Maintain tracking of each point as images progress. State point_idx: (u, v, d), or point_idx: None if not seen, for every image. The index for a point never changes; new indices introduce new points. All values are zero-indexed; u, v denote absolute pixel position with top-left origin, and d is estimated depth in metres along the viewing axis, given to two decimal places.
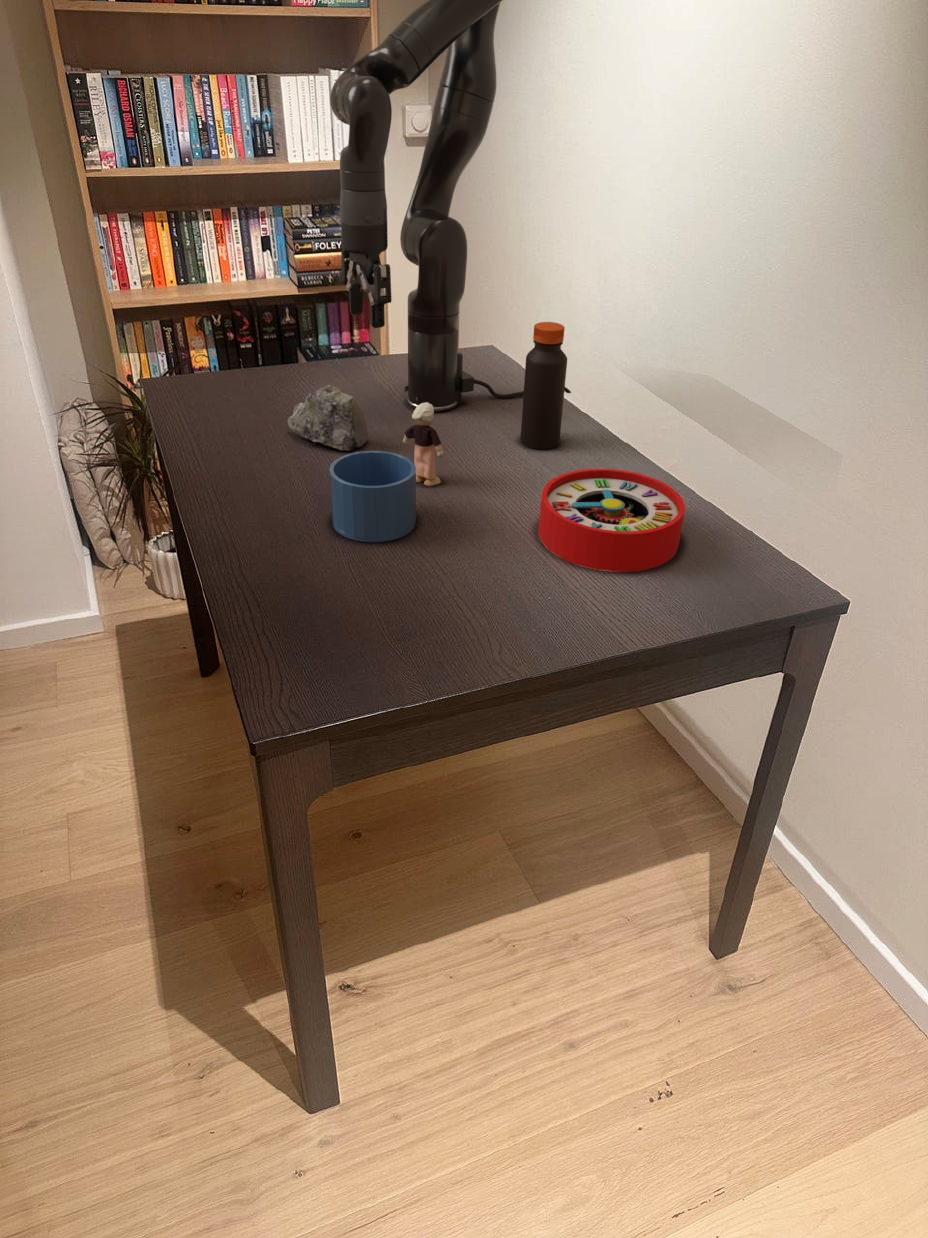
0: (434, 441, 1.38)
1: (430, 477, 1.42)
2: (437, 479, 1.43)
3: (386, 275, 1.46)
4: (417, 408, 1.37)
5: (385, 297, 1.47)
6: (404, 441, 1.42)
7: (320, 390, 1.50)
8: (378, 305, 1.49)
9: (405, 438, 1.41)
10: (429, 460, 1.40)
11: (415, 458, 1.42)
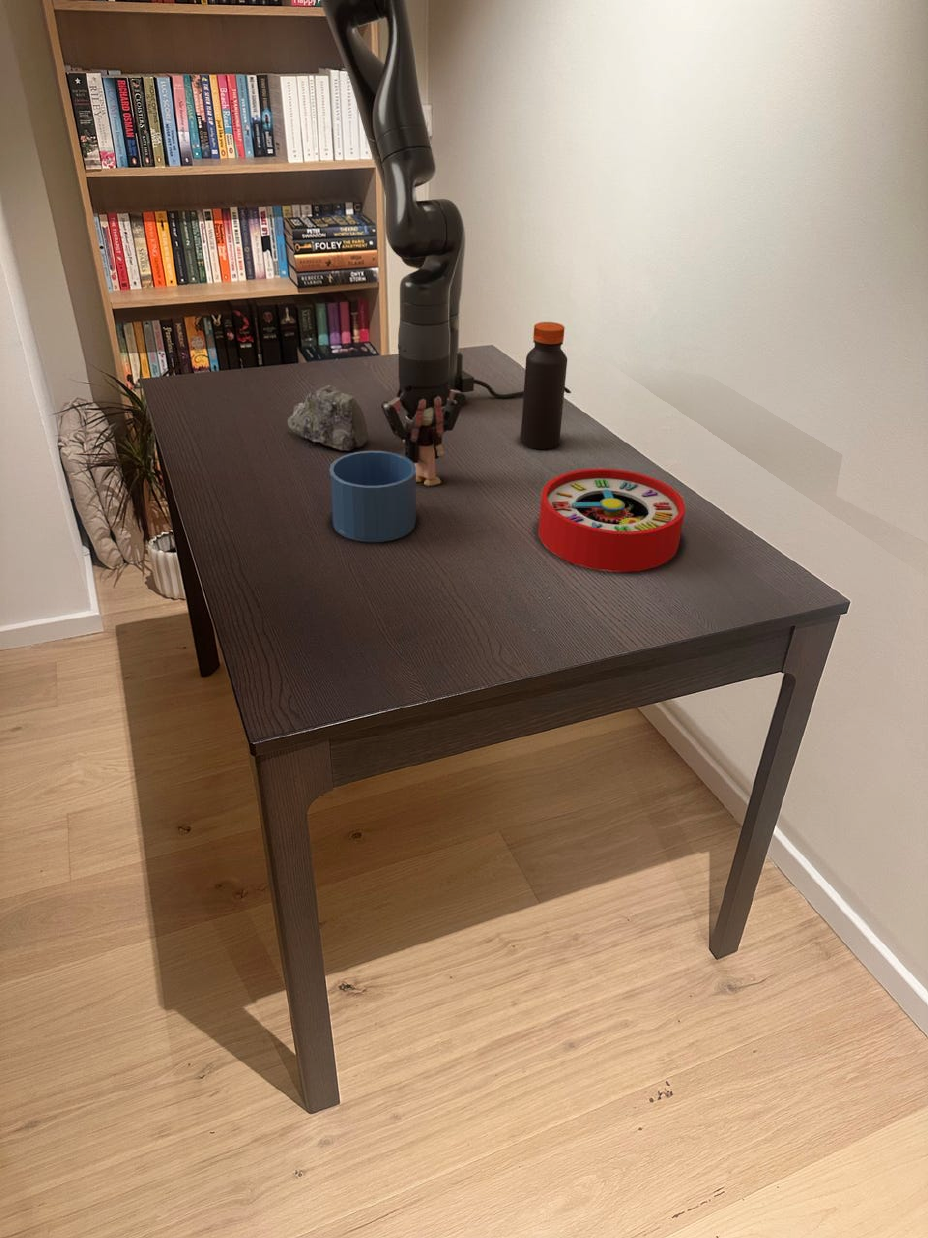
0: (434, 441, 1.38)
1: (430, 477, 1.42)
2: (437, 479, 1.43)
3: (388, 416, 1.34)
4: None
5: None
6: (404, 441, 1.42)
7: (320, 390, 1.50)
8: None
9: None
10: (429, 459, 1.40)
11: None
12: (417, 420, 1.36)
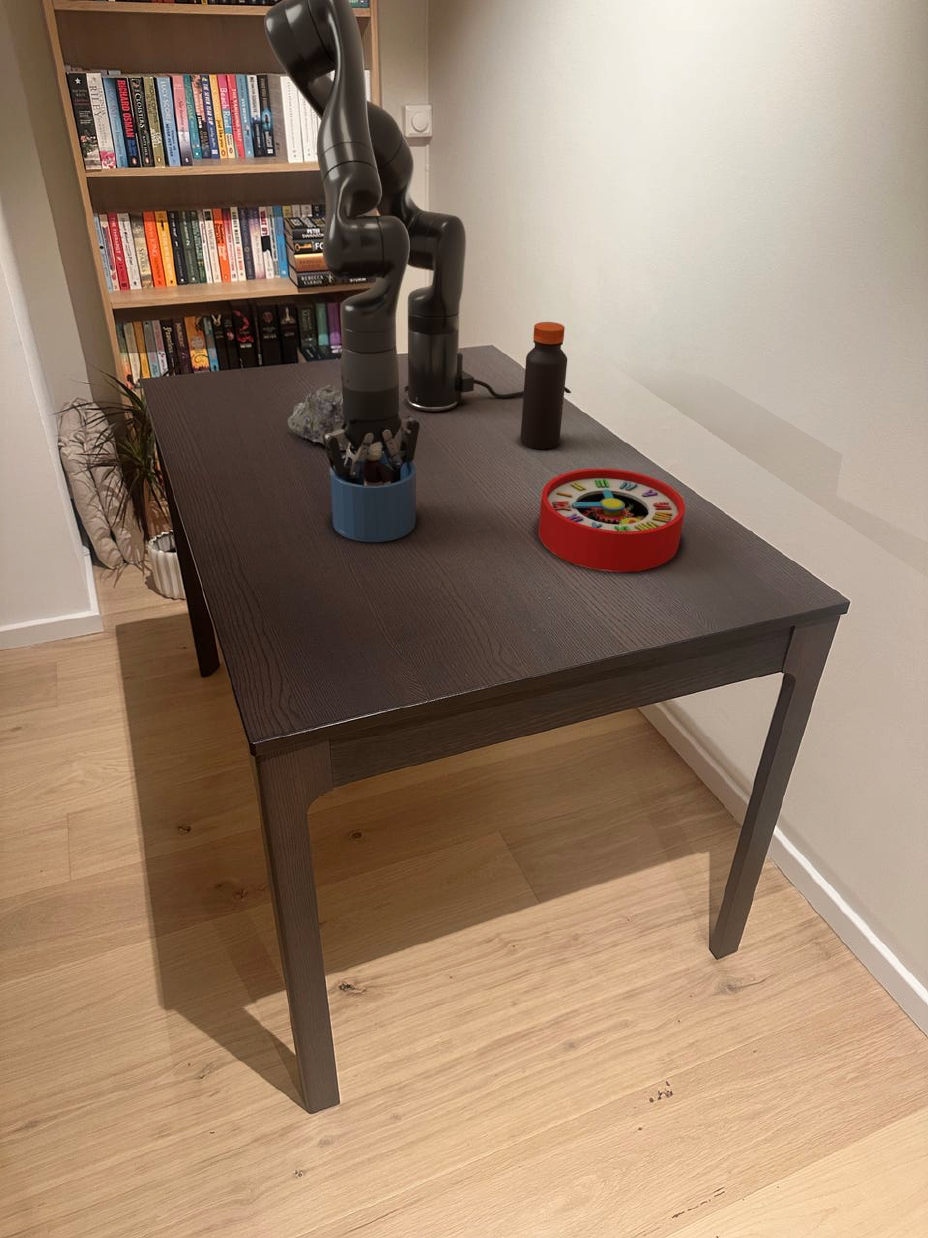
0: (382, 477, 1.26)
1: None
2: None
3: (329, 447, 1.21)
4: None
5: None
6: None
7: (320, 390, 1.50)
8: None
9: None
10: None
11: None
12: (360, 455, 1.23)
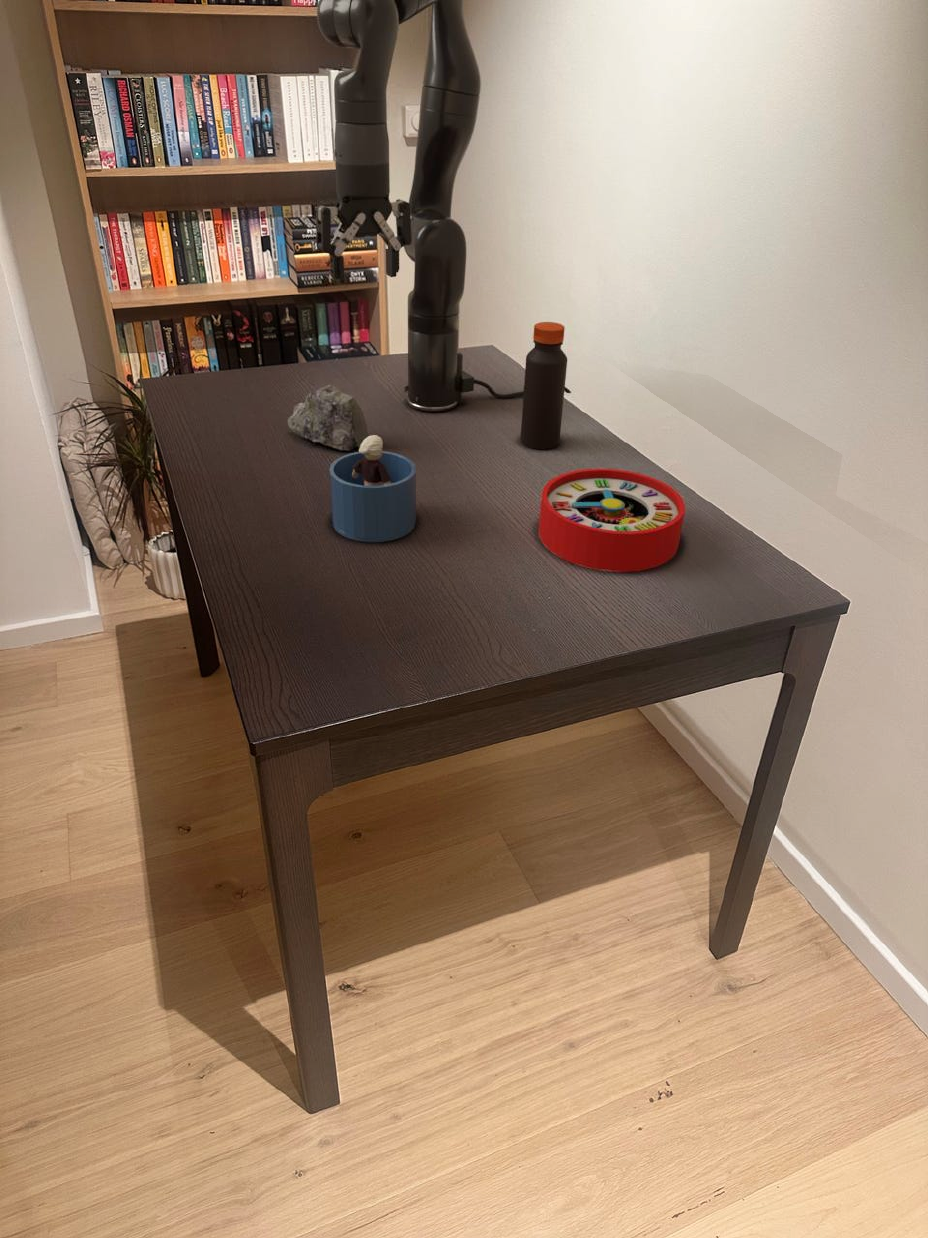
0: (382, 477, 1.26)
1: None
2: None
3: (320, 218, 1.28)
4: (364, 441, 1.25)
5: (321, 244, 1.30)
6: (353, 475, 1.30)
7: (320, 390, 1.50)
8: None
9: (354, 472, 1.29)
10: None
11: None
12: (349, 233, 1.29)
